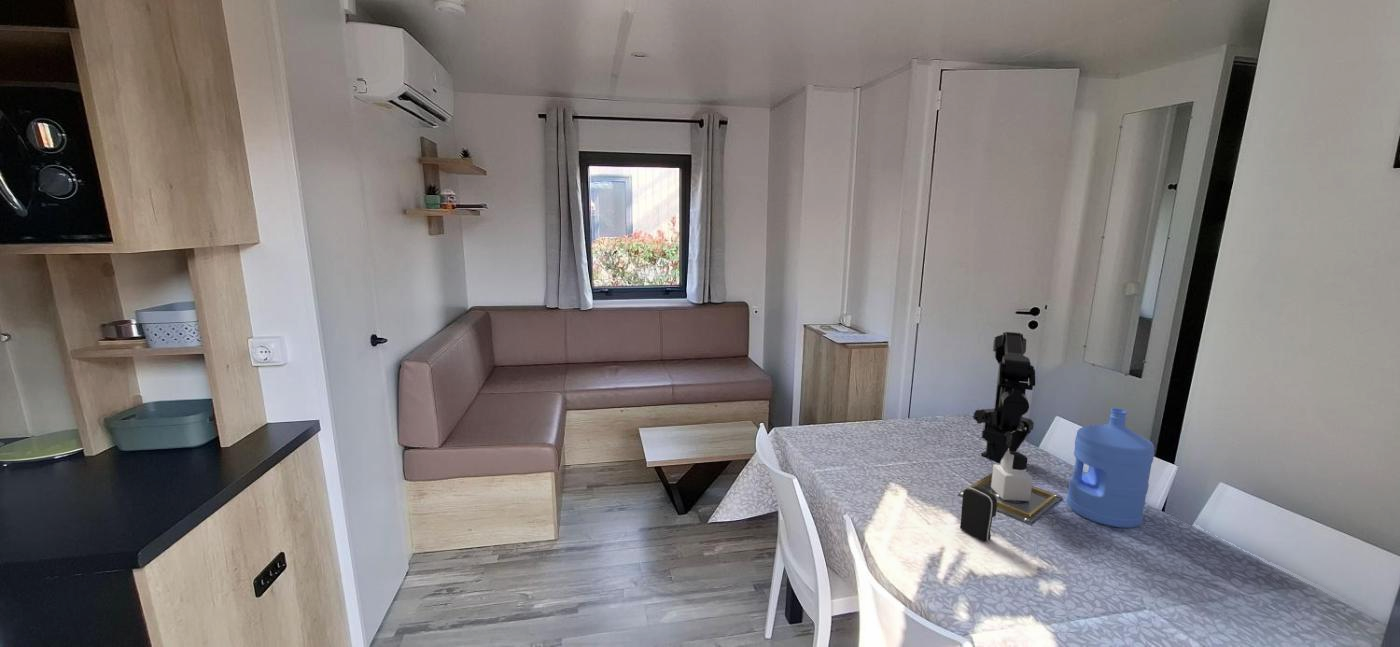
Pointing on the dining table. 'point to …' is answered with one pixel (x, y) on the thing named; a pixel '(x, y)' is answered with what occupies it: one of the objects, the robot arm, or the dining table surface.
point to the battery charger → (978, 512)
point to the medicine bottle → (1012, 478)
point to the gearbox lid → (1021, 502)
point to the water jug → (1111, 473)
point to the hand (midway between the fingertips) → (1004, 458)
